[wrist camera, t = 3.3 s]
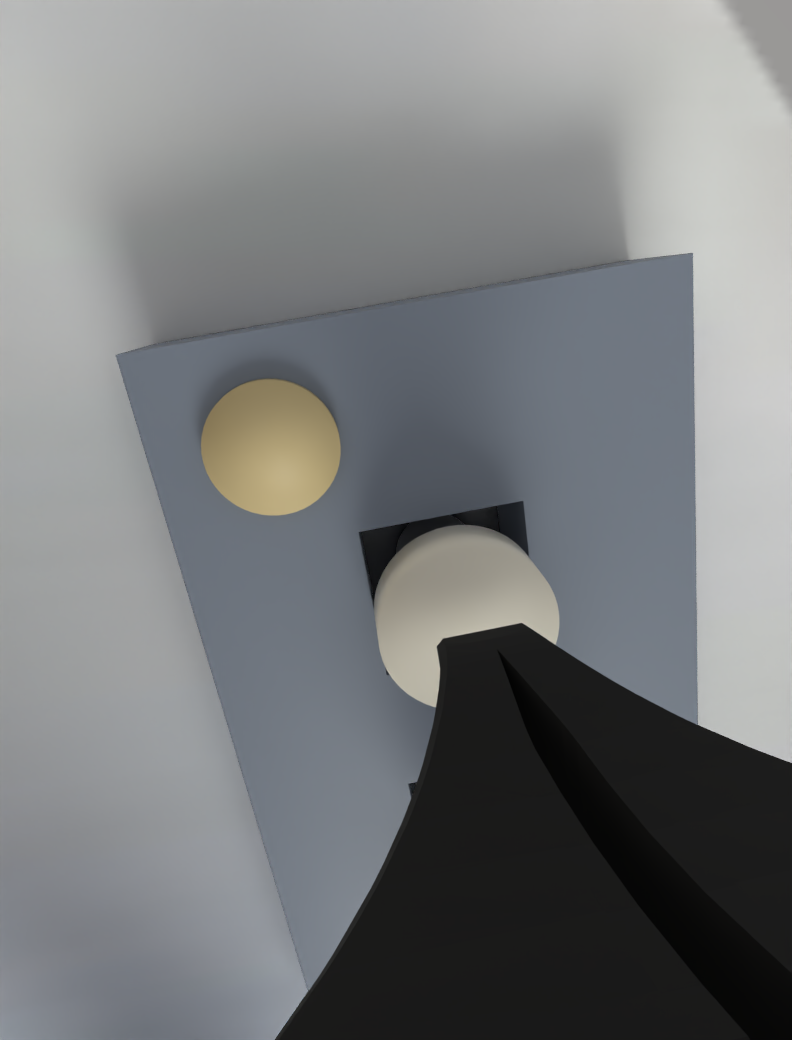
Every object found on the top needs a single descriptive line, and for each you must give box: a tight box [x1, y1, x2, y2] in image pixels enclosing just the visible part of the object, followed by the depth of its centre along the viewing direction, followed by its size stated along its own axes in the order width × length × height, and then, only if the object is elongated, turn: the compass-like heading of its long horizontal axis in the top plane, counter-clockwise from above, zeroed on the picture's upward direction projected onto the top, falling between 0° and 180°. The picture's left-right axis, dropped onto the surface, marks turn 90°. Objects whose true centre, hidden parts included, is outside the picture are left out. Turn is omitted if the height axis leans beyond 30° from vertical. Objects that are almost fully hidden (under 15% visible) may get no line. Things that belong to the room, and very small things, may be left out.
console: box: [116, 253, 698, 991], centre depth 16 cm, size 20×10×3 cm, turn 9°
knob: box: [374, 515, 559, 707], centre depth 13 cm, size 3×3×4 cm
